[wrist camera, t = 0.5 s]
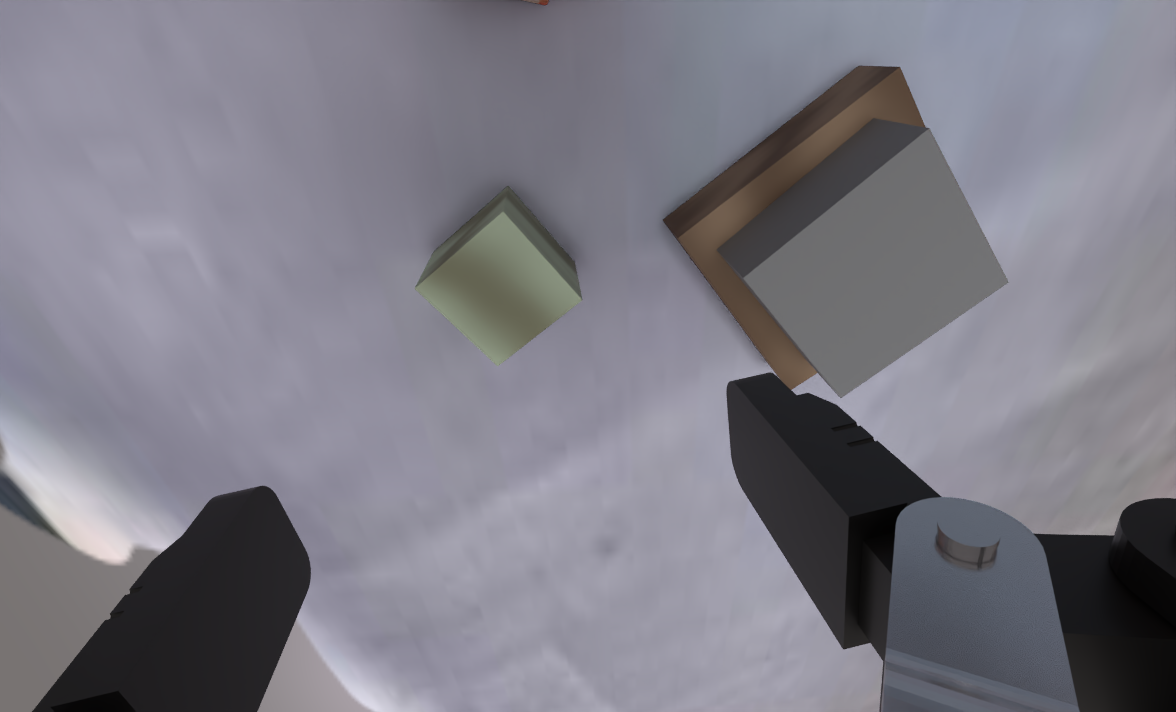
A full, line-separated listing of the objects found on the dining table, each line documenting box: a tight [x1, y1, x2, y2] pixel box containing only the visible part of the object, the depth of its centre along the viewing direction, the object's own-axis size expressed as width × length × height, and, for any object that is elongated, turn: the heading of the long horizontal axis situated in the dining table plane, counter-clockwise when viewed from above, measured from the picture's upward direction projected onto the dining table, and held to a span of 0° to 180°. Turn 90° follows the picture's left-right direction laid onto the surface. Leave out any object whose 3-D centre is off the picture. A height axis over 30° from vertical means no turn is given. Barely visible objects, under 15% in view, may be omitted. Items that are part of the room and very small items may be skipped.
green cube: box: [415, 186, 582, 366], centre depth 28 cm, size 6×6×6 cm
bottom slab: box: [663, 66, 926, 390], centre depth 30 cm, size 12×12×4 cm
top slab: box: [717, 118, 1008, 398], centre depth 26 cm, size 9×9×4 cm
